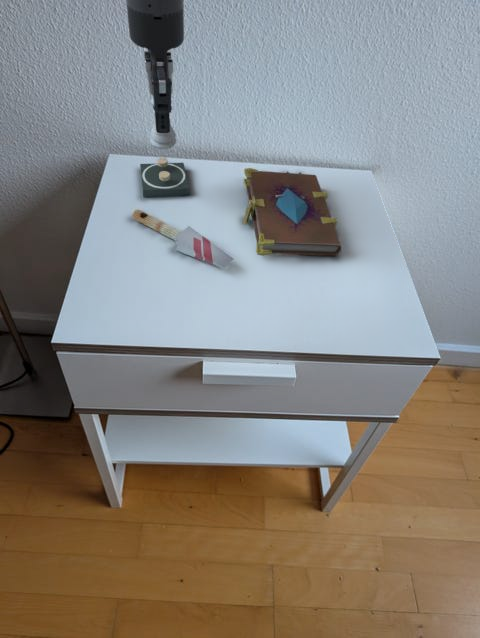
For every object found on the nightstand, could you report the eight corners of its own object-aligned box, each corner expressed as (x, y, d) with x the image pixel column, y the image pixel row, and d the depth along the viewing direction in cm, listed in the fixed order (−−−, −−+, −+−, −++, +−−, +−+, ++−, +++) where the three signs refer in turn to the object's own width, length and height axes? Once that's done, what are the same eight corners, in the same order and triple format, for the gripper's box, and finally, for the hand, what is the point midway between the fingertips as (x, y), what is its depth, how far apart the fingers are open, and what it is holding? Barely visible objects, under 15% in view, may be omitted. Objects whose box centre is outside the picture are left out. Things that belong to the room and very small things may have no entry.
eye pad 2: (159, 181, 78) (159, 177, 77) (158, 174, 79) (158, 171, 79) (170, 181, 78) (170, 177, 78) (169, 174, 80) (169, 170, 79)
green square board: (143, 197, 79) (142, 189, 78) (140, 170, 84) (140, 163, 82) (188, 195, 80) (188, 187, 79) (183, 169, 85) (183, 161, 84)
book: (310, 177, 89) (317, 155, 85) (338, 262, 74) (348, 240, 70) (232, 171, 86) (236, 149, 82) (246, 259, 71) (251, 236, 67)
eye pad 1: (157, 167, 81) (157, 163, 80) (156, 161, 82) (156, 157, 81) (168, 167, 81) (168, 163, 80) (167, 160, 82) (167, 157, 82)
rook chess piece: (162, 133, 75) (159, 85, 68) (182, 142, 73) (181, 95, 67) (144, 143, 72) (140, 94, 66) (164, 153, 71) (161, 105, 65)
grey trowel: (222, 263, 66) (127, 212, 72) (222, 276, 68) (129, 225, 75) (236, 250, 68) (143, 202, 75) (236, 262, 70) (145, 214, 77)
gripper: (124, -18, 60) (136, 104, 74) (128, 20, 52) (141, 150, 66) (177, -16, 62) (180, 104, 75) (189, 22, 53) (190, 149, 67)
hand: (162, 125), depth 70 cm, fingers closed on rook chess piece, 3 cm apart
